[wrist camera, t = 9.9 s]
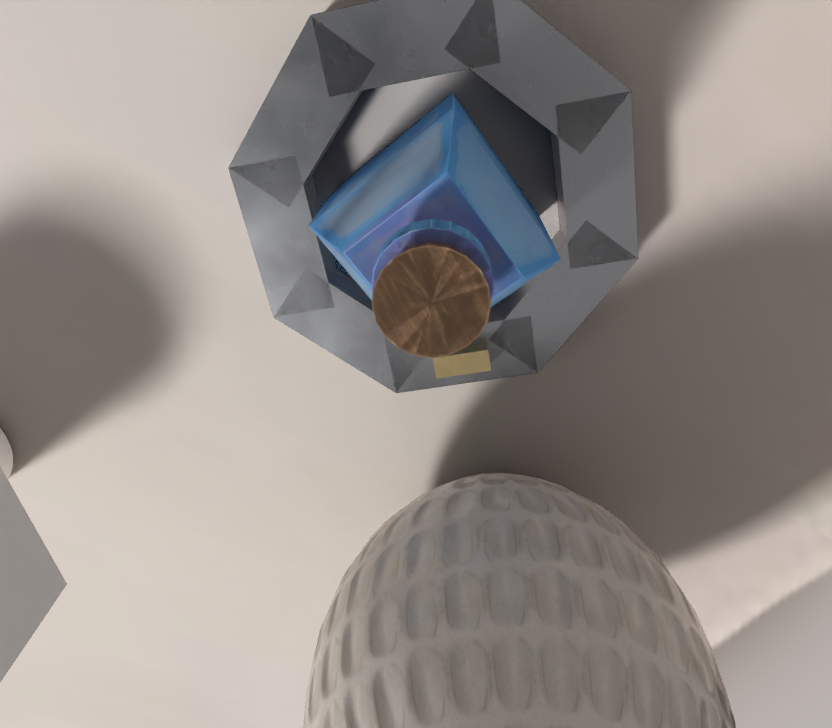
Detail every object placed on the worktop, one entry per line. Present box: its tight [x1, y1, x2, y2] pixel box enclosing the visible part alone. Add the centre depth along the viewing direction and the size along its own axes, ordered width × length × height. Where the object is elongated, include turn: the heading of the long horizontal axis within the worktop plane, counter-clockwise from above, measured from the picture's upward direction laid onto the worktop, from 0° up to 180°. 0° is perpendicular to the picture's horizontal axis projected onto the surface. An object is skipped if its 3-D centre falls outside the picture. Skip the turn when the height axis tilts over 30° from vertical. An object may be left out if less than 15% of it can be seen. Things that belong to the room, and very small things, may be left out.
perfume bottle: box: [308, 93, 561, 358], centre depth 23 cm, size 6×6×12 cm
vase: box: [304, 473, 736, 728], centre depth 26 cm, size 16×16×22 cm
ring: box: [228, 0, 638, 393], centre depth 27 cm, size 16×16×3 cm
